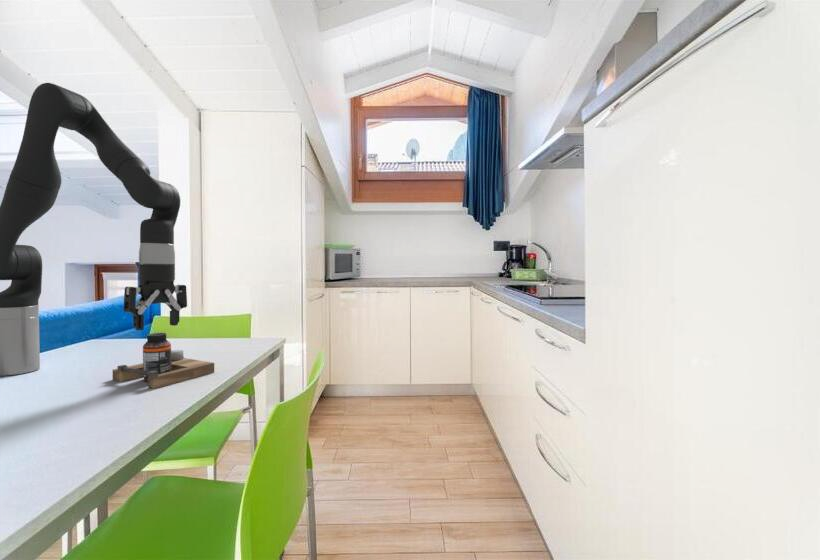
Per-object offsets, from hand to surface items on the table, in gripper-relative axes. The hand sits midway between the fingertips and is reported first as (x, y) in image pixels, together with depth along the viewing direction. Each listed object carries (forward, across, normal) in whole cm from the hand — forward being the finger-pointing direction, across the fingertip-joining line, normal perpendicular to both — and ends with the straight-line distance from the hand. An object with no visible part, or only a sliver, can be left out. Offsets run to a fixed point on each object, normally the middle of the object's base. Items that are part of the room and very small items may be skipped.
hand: (157, 327), depth 99 cm
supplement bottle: (+13, 0, 0) cm, 13 cm away
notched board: (+13, -2, -1) cm, 13 cm away
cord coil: (+10, -8, -6) cm, 14 cm away
